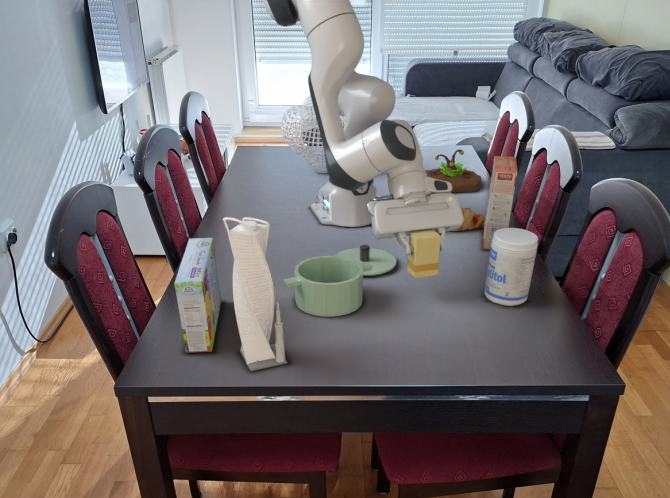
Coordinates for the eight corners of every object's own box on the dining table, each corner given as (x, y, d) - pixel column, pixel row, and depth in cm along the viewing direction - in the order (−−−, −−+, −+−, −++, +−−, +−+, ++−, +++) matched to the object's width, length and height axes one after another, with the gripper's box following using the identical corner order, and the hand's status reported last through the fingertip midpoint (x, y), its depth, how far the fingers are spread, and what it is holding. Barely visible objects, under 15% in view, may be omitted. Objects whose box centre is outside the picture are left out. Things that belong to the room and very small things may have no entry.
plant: (486, 193, 206) (490, 158, 200) (424, 192, 206) (427, 157, 201) (476, 175, 223) (479, 142, 218) (419, 174, 224) (421, 141, 218)
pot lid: (321, 258, 162) (321, 241, 159) (376, 247, 168) (376, 230, 166) (351, 282, 150) (351, 264, 148) (408, 270, 156) (409, 252, 154)
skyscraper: (242, 372, 118) (230, 226, 103) (231, 351, 124) (217, 210, 109) (287, 363, 121) (280, 219, 106) (273, 342, 127) (265, 204, 112)
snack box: (196, 302, 141) (187, 237, 133) (222, 301, 141) (215, 236, 134) (183, 354, 123) (172, 282, 115) (213, 353, 123) (204, 281, 116)
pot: (274, 296, 144) (272, 265, 140) (353, 279, 152) (354, 249, 148) (300, 325, 133) (299, 292, 129) (385, 305, 141) (386, 273, 137)
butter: (407, 270, 143) (409, 232, 138) (430, 267, 144) (433, 229, 139) (414, 278, 139) (416, 239, 135) (438, 275, 141) (441, 236, 136)
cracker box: (506, 252, 166) (518, 171, 155) (482, 250, 167) (492, 169, 156) (505, 232, 178) (517, 156, 167) (483, 230, 179) (493, 154, 168)
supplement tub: (475, 296, 145) (483, 234, 137) (500, 284, 150) (509, 223, 143) (511, 311, 139) (522, 247, 131) (536, 298, 144) (547, 236, 137)
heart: (280, 179, 217) (277, 110, 206) (285, 166, 231) (282, 100, 219) (364, 180, 217) (365, 111, 206) (363, 167, 231) (365, 101, 219)
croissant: (486, 235, 185) (488, 207, 184) (492, 231, 175) (494, 201, 174) (411, 231, 186) (413, 203, 185) (413, 227, 176) (415, 197, 175)
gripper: (369, 190, 136) (383, 252, 133) (458, 182, 141) (473, 240, 138) (361, 204, 142) (375, 263, 139) (447, 195, 147) (462, 252, 144)
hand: (425, 252), depth 139 cm, fingers closed on butter, 5 cm apart
